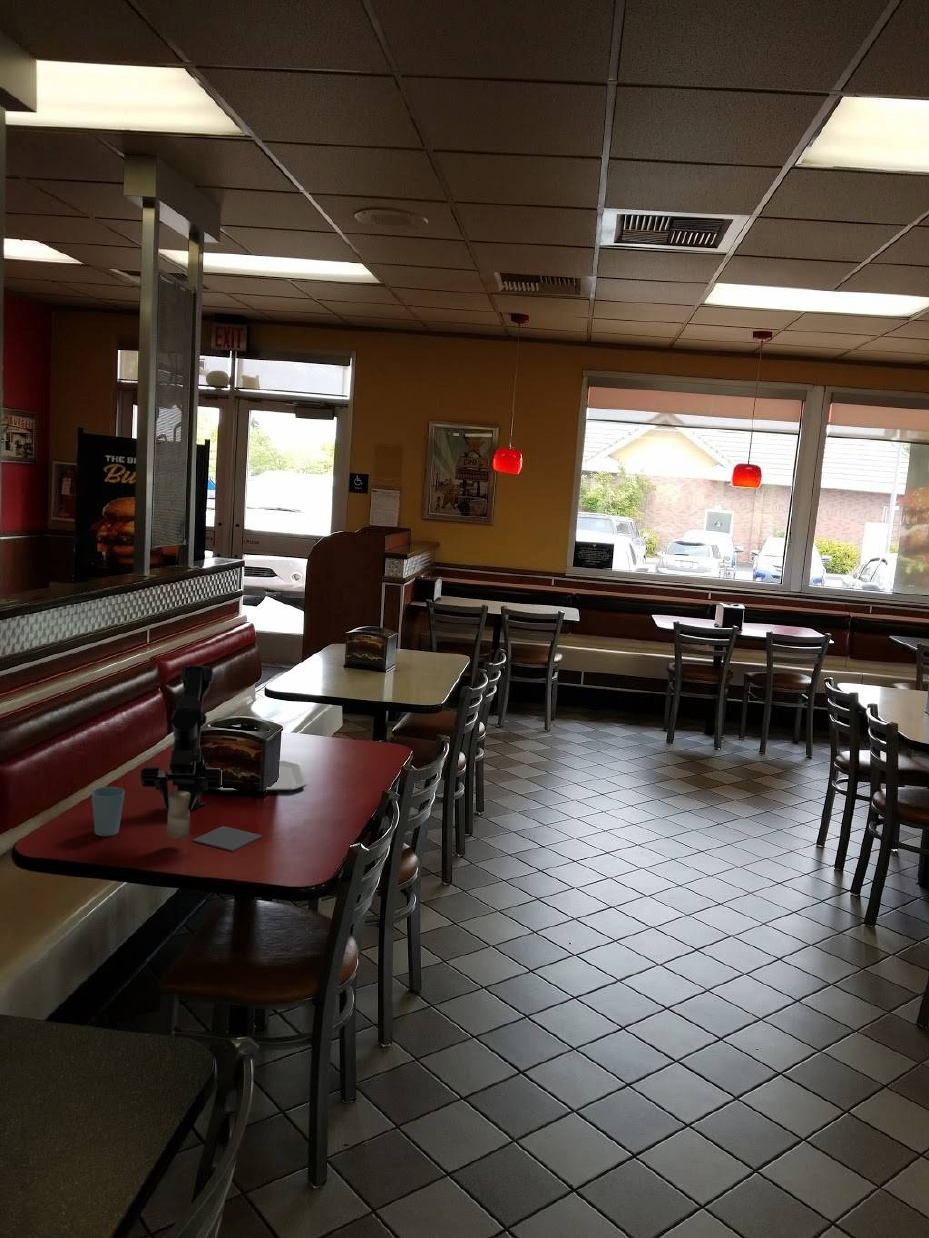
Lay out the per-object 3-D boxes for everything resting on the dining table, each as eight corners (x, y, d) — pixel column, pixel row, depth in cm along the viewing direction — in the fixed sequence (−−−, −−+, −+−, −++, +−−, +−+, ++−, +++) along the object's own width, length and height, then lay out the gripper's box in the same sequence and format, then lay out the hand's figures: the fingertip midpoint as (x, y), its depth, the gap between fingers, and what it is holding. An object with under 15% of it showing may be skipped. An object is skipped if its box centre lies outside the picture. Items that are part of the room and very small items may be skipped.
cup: (123, 826, 239) (124, 786, 238) (123, 837, 232) (125, 795, 231) (91, 827, 237) (92, 787, 235) (90, 838, 229) (91, 797, 228)
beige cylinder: (176, 829, 231) (178, 789, 230) (193, 833, 229) (194, 793, 228) (162, 835, 227) (164, 794, 225) (179, 839, 225) (181, 798, 224)
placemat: (223, 827, 244) (223, 825, 244) (262, 837, 239) (262, 835, 239) (192, 841, 233) (192, 839, 233) (232, 851, 228) (233, 850, 228)
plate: (204, 796, 268) (205, 788, 267) (204, 767, 295) (204, 760, 295) (308, 795, 276) (308, 788, 275) (297, 767, 303) (298, 760, 303)
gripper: (143, 734, 227) (134, 793, 218) (223, 736, 231) (218, 794, 221) (146, 756, 236) (138, 814, 226) (223, 758, 239) (218, 815, 230)
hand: (178, 809), depth 226 cm, fingers closed on beige cylinder, 5 cm apart
